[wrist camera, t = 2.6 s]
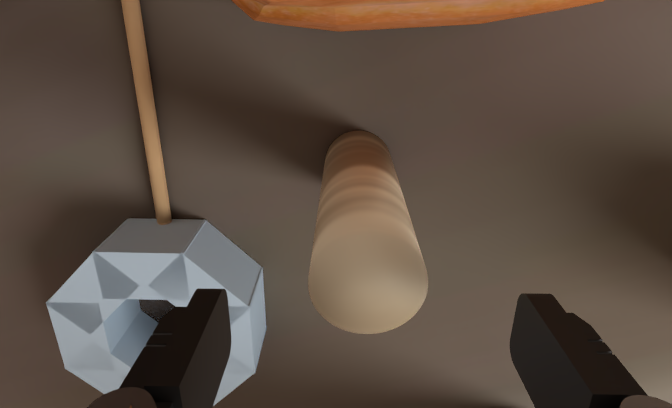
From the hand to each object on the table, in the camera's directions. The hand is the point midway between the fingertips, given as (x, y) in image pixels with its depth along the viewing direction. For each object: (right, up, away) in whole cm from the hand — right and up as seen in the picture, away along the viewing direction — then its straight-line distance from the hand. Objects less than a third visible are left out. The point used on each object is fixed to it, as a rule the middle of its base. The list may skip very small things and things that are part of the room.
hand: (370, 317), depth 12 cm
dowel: (0, +5, +12) cm, 13 cm away
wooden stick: (-11, +10, +10) cm, 18 cm away
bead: (-11, -3, +16) cm, 19 cm away
